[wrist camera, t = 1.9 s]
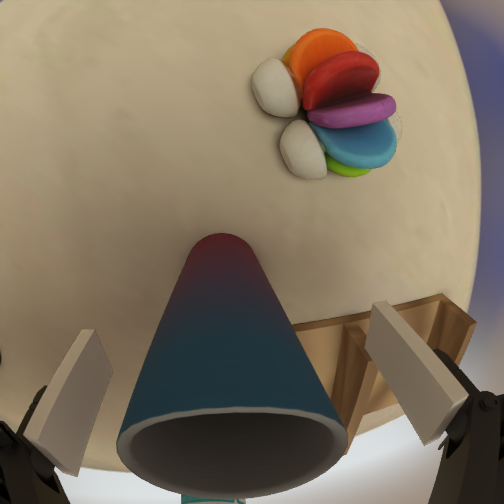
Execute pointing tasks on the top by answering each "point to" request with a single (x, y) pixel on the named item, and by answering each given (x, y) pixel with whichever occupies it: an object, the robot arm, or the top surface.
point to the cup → (228, 388)
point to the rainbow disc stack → (329, 106)
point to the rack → (360, 363)
